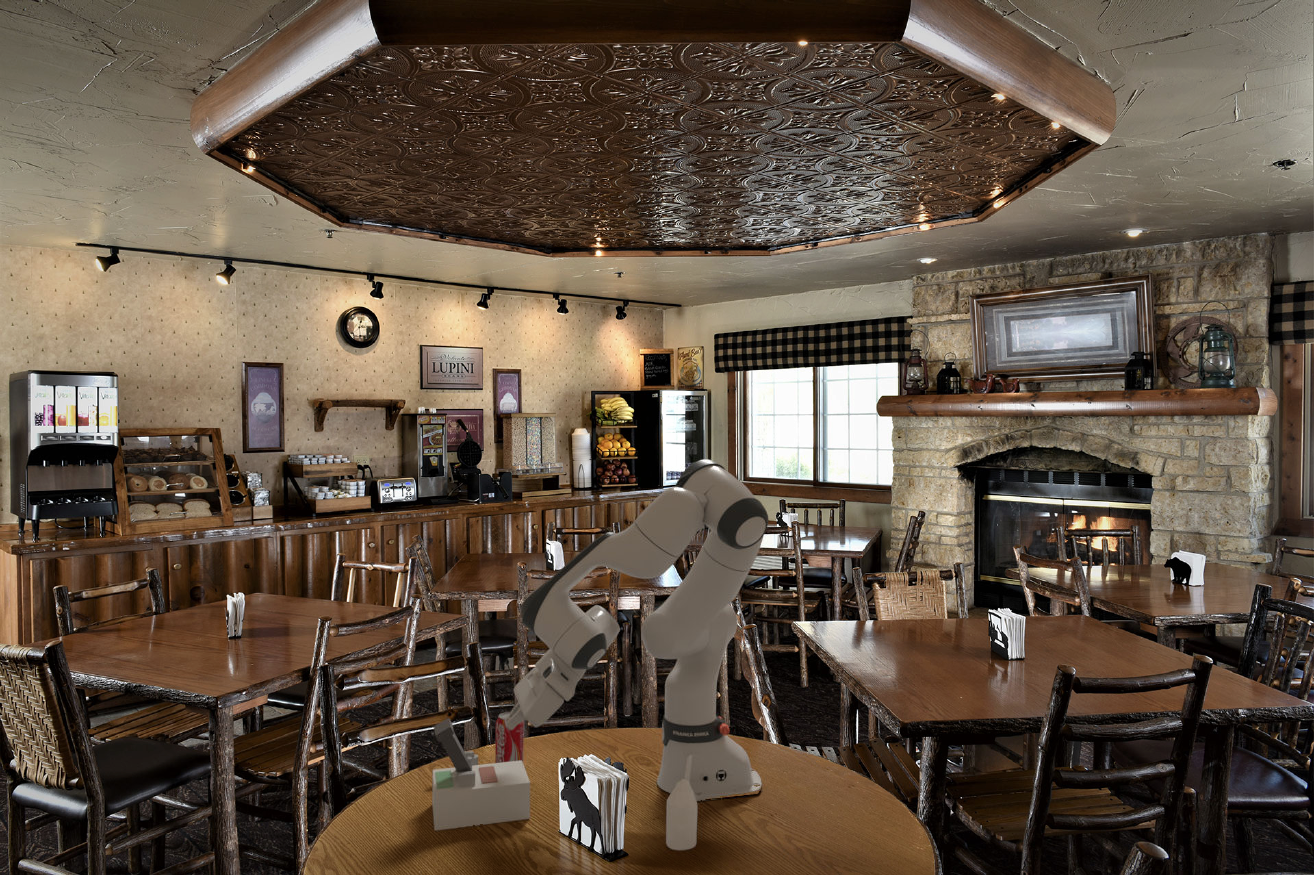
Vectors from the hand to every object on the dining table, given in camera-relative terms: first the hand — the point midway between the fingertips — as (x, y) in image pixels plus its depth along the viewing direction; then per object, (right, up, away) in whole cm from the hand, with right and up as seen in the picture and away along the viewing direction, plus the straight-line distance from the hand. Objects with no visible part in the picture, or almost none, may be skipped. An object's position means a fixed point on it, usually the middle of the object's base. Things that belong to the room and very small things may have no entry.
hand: (507, 726), depth 167 cm
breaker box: (-5, -16, -2) cm, 17 cm away
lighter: (-13, -17, +15) cm, 26 cm away
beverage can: (-3, -17, +20) cm, 26 cm away
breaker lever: (-7, -9, -3) cm, 12 cm away
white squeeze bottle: (+35, -16, -15) cm, 41 cm away
